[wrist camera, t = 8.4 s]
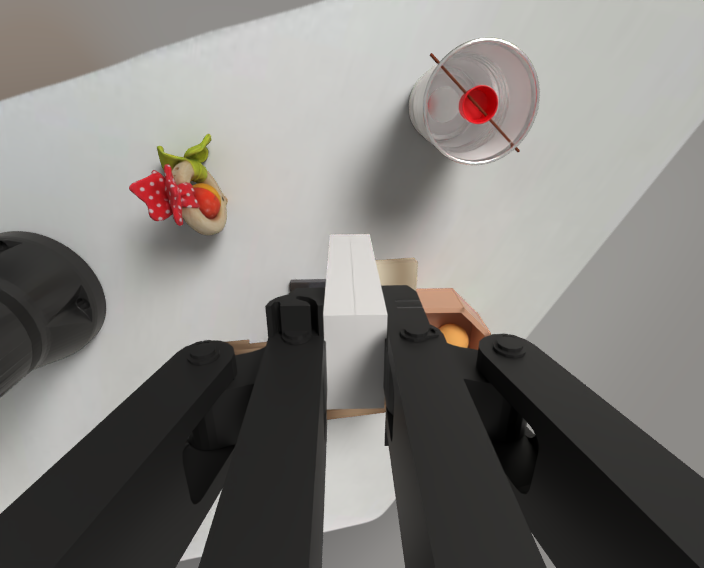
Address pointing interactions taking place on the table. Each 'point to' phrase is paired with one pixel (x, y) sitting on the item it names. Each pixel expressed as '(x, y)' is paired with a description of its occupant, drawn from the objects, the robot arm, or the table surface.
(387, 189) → the table surface
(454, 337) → the ball
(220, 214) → the bird rattle
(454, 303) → the terracotta octagonal bowl
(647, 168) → the table surface
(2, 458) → the table surface
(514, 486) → the robot arm
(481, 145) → the white ridged hollow cylinder
